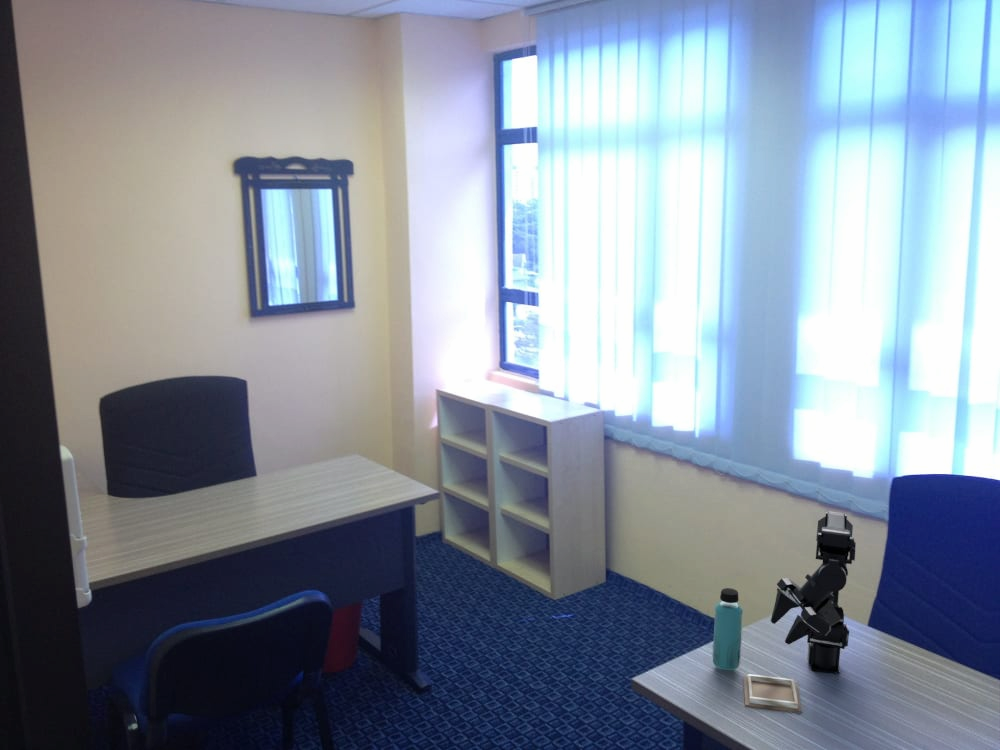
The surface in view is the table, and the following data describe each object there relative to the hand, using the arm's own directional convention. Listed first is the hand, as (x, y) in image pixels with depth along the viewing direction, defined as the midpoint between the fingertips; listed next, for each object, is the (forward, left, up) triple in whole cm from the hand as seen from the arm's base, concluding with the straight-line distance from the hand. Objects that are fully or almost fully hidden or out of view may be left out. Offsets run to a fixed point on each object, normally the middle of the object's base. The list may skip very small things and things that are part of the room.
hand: (779, 632), depth 208 cm
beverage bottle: (+11, -1, -12) cm, 16 cm away
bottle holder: (+1, +8, -11) cm, 14 cm away
